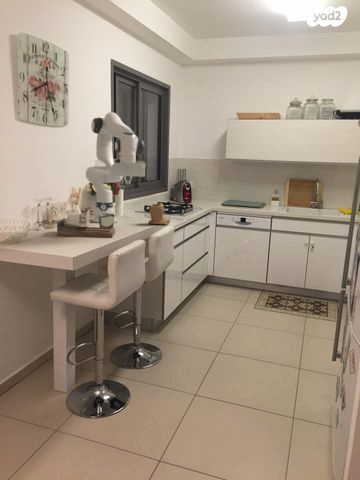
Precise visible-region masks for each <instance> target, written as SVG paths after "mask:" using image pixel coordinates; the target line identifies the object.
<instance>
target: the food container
mask: <svg viewBox="0 0 360 480" xmlns="http://www.w3.org/2000/svg"><path fill="white" fill-rule="evenodd" d="M115 215H116V214H115ZM115 215H114V214H109V213H105V214H99V215H98V218H99V222H98V224H99V228H114V223H115V222H114V217H115ZM115 218H116V217H115Z"/></svg>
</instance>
